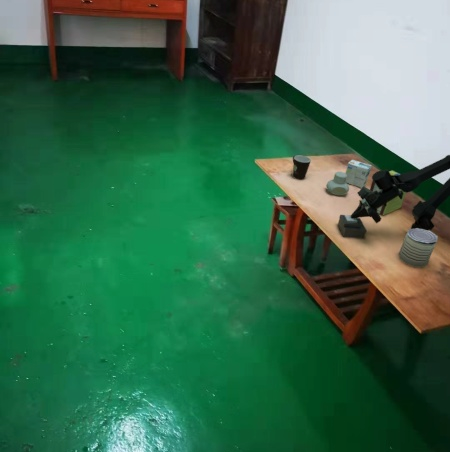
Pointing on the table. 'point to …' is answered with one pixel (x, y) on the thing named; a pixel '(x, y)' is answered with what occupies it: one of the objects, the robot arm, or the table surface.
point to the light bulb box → (357, 173)
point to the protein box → (391, 204)
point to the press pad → (350, 219)
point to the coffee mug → (300, 166)
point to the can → (417, 247)
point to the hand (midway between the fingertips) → (351, 217)
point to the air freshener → (338, 184)
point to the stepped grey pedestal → (351, 228)
